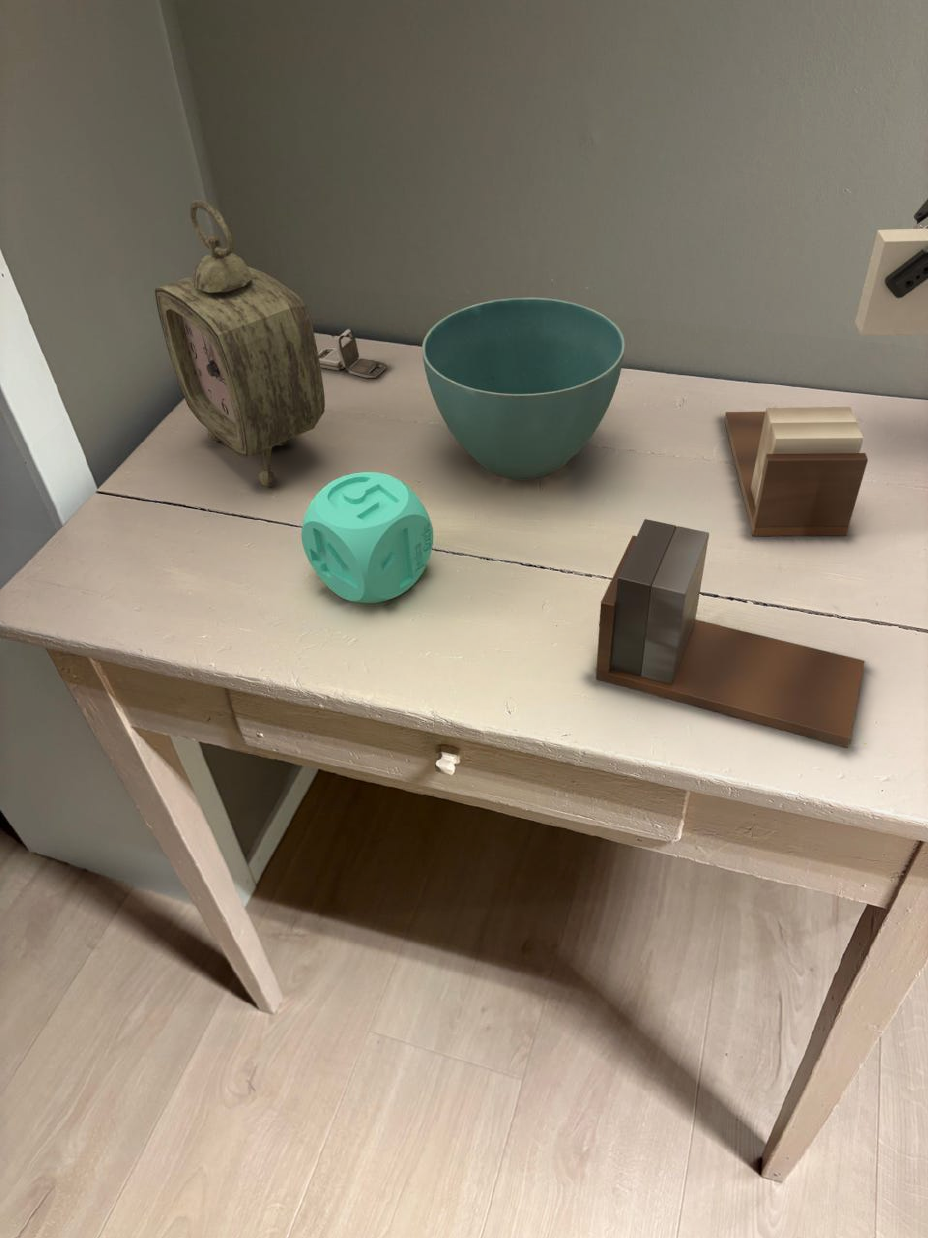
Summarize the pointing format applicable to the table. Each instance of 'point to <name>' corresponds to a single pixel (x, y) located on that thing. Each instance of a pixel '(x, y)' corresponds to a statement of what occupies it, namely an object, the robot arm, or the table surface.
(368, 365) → the strap clip
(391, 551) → the decorative dice
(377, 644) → the table surface
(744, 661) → the brown wooden bookend
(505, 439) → the teal bowl
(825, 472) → the brown wooden book rack
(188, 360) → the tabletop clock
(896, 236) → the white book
